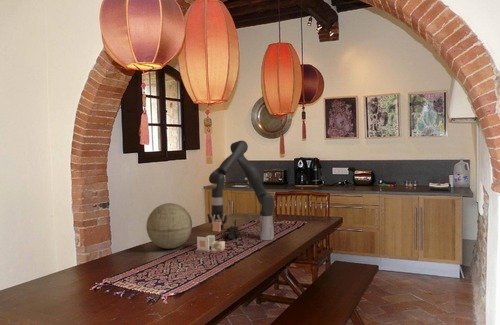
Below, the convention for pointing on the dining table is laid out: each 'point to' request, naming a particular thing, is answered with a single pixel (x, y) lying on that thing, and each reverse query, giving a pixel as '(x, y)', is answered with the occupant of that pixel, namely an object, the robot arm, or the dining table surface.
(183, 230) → the celestial globe
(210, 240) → the sage block
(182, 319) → the dining table surface
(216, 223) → the terracotta block
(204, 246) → the board
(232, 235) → the helicopter
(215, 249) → the beech base block
